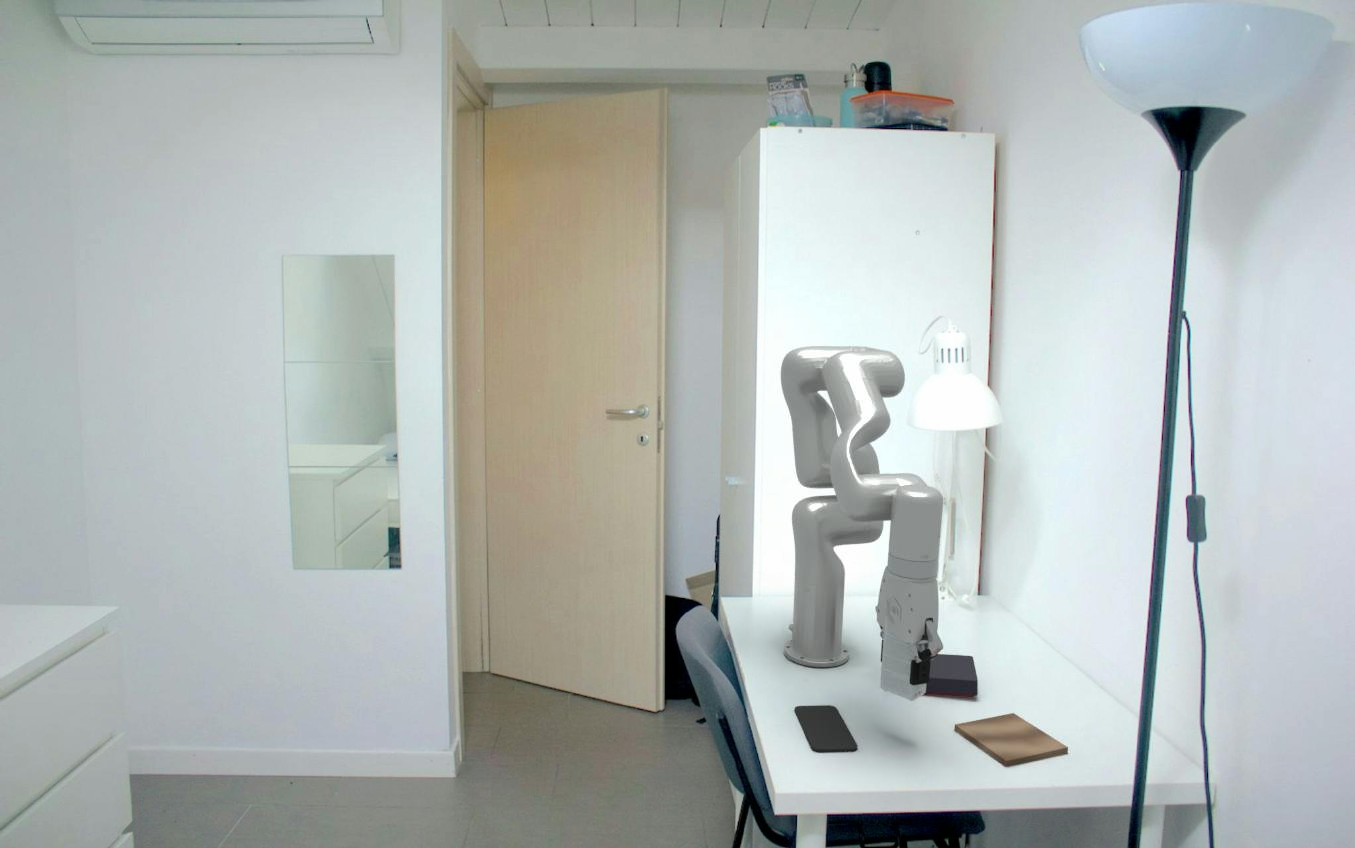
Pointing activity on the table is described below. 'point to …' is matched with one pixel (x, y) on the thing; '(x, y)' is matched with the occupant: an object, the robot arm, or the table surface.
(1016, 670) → the table surface
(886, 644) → the skincare box
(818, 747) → the phone
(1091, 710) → the table surface
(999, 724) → the walnut pad
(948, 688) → the dark gray stepped block
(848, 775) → the table surface
